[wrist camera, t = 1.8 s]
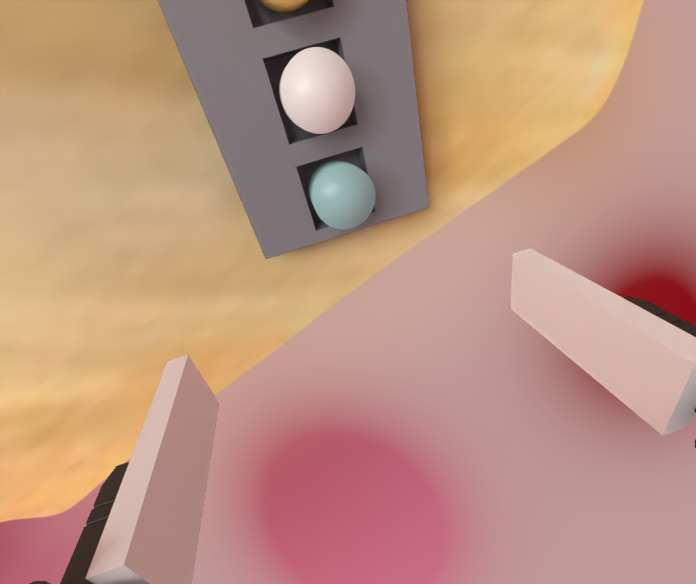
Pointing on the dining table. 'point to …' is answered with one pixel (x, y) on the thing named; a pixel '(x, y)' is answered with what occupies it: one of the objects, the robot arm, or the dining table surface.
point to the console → (276, 127)
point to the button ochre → (283, 5)
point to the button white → (317, 90)
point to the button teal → (341, 194)
